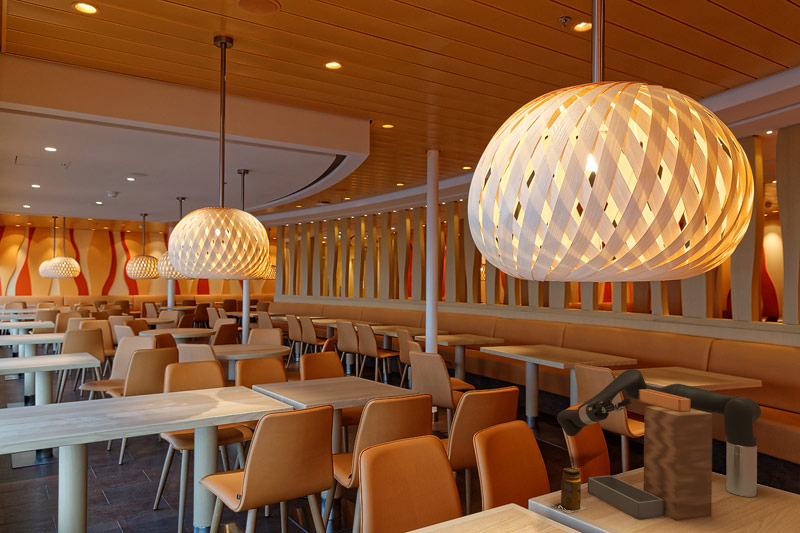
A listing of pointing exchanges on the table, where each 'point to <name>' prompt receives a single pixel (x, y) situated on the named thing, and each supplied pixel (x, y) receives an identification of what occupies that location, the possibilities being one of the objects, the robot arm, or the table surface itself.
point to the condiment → (570, 491)
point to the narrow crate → (665, 400)
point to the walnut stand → (679, 461)
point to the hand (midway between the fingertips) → (620, 401)
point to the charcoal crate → (626, 497)
